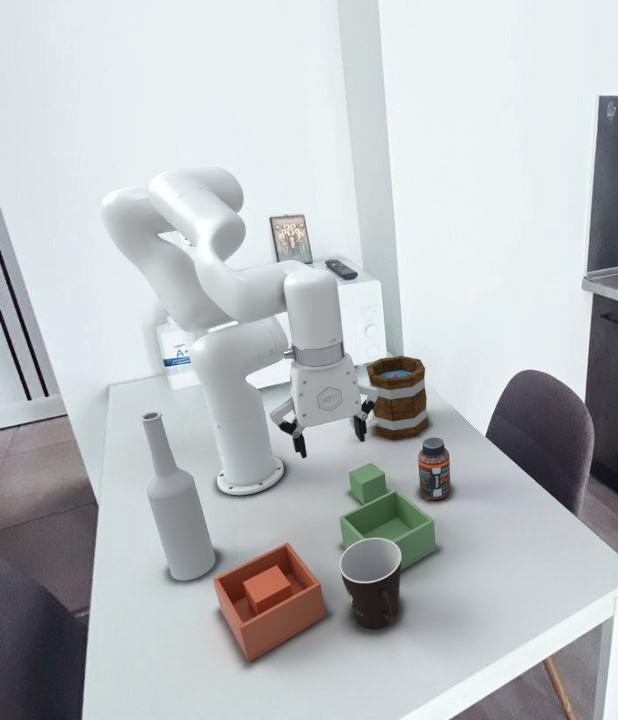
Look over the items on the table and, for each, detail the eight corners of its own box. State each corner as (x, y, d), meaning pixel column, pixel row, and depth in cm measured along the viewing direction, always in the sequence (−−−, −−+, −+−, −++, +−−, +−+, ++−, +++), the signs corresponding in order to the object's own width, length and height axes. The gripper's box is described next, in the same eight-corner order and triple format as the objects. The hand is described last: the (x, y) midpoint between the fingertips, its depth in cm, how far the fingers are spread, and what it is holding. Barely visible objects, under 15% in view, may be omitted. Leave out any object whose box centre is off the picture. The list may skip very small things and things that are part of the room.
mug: (408, 405, 138) (404, 351, 132) (440, 426, 128) (437, 368, 122) (337, 432, 126) (329, 374, 120) (366, 457, 117) (360, 395, 111)
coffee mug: (350, 590, 84) (343, 539, 80) (406, 586, 84) (402, 535, 80) (339, 658, 73) (330, 603, 69) (403, 653, 74) (398, 598, 70)
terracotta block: (249, 607, 80) (242, 582, 78) (282, 589, 83) (276, 564, 81) (262, 629, 77) (255, 603, 75) (296, 609, 80) (290, 584, 78)
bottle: (217, 546, 93) (179, 401, 81) (214, 574, 87) (173, 422, 76) (173, 556, 91) (128, 408, 79) (168, 585, 85) (118, 431, 74)
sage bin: (343, 546, 92) (339, 516, 90) (398, 517, 99) (396, 488, 97) (378, 584, 85) (374, 553, 82) (435, 550, 91) (434, 520, 89)
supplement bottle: (446, 503, 103) (444, 452, 98) (416, 499, 104) (412, 449, 99) (454, 484, 108) (452, 435, 103) (425, 481, 109) (422, 432, 104)
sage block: (351, 493, 106) (348, 472, 104) (373, 483, 109) (371, 462, 107) (364, 506, 102) (361, 484, 100) (387, 494, 105) (385, 473, 103)
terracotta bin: (221, 610, 80) (212, 578, 78) (293, 572, 87) (287, 541, 85) (248, 662, 73) (240, 628, 70) (326, 616, 79) (320, 583, 77)
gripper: (265, 372, 77) (283, 473, 84) (381, 348, 84) (389, 442, 91) (256, 354, 82) (273, 449, 89) (365, 333, 90) (374, 422, 97)
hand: (332, 445), depth 90 cm, fingers open, 9 cm apart
